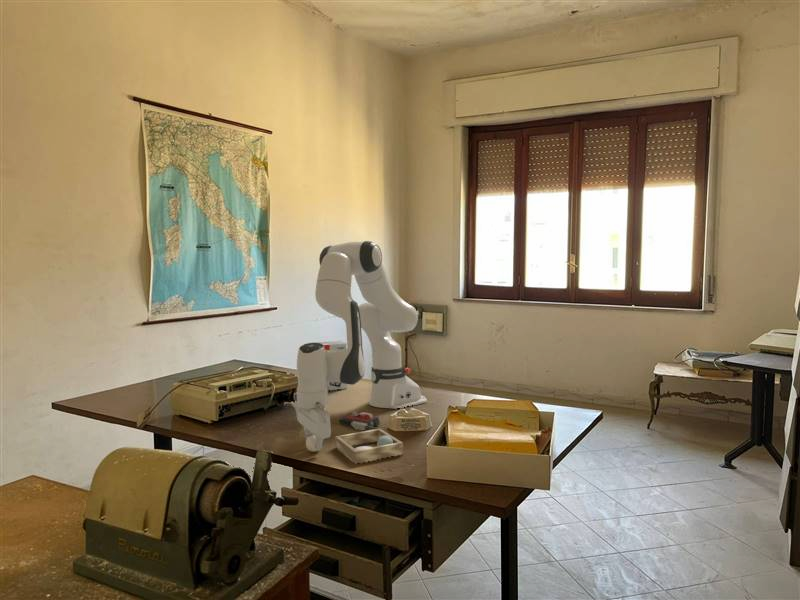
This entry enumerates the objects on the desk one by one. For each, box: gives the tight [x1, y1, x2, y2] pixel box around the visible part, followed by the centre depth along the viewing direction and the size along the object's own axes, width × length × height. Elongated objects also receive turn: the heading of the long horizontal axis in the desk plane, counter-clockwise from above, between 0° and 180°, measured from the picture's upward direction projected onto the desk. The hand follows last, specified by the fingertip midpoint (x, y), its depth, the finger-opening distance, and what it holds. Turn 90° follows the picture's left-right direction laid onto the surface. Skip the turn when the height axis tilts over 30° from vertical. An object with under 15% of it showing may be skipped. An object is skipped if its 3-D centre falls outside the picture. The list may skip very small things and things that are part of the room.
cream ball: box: [305, 434, 319, 453], centre depth 167 cm, size 5×5×5 cm
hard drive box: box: [316, 340, 348, 392], centre depth 240 cm, size 16×8×20 cm, turn 115°
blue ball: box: [376, 436, 393, 447], centre depth 165 cm, size 5×5×5 cm
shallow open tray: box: [334, 428, 404, 465], centre depth 166 cm, size 15×15×4 cm
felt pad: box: [355, 445, 373, 450], centre depth 167 cm, size 6×6×1 cm
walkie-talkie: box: [338, 411, 387, 432], centre depth 190 cm, size 9×4×20 cm
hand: (313, 444), depth 167 cm, fingers open, 7 cm apart
